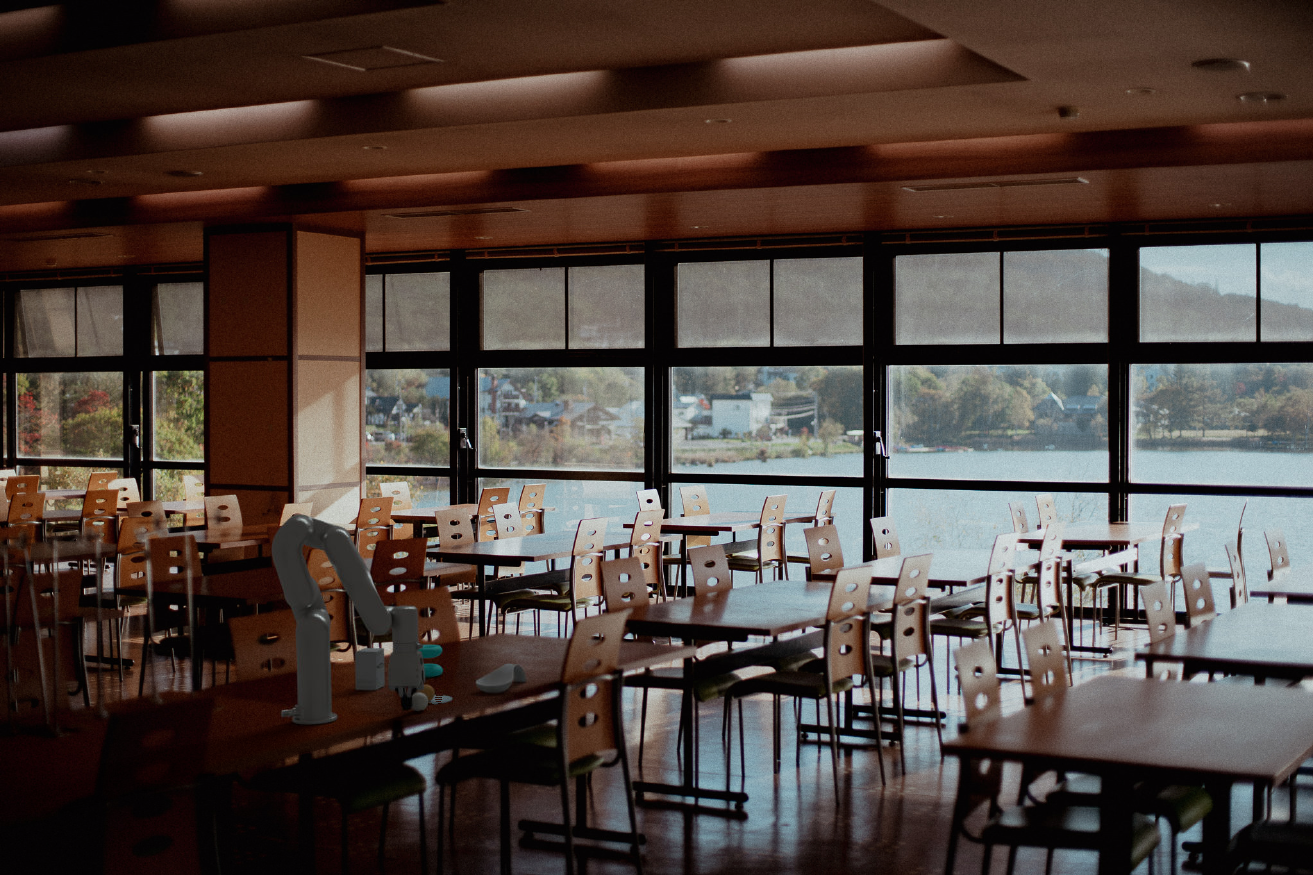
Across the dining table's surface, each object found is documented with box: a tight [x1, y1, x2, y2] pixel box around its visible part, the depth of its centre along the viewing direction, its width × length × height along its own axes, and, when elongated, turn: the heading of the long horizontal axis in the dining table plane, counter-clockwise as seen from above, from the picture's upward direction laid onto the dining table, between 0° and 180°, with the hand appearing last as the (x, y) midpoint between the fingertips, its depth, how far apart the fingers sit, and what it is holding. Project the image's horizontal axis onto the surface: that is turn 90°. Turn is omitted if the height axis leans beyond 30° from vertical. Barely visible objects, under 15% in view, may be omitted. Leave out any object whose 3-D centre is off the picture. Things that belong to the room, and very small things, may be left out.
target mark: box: [428, 694, 453, 705], centre depth 417 cm, size 14×14×1 cm
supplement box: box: [354, 647, 385, 691], centre depth 439 cm, size 7×7×13 cm
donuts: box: [419, 644, 444, 678], centre depth 460 cm, size 10×10×10 cm
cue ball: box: [411, 692, 429, 712], centre depth 401 cm, size 6×6×6 cm
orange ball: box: [416, 684, 436, 702], centre depth 414 cm, size 6×6×6 cm
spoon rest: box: [475, 663, 527, 694], centre depth 435 cm, size 24×12×7 cm, turn 159°
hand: (406, 709), depth 396 cm, fingers closed
